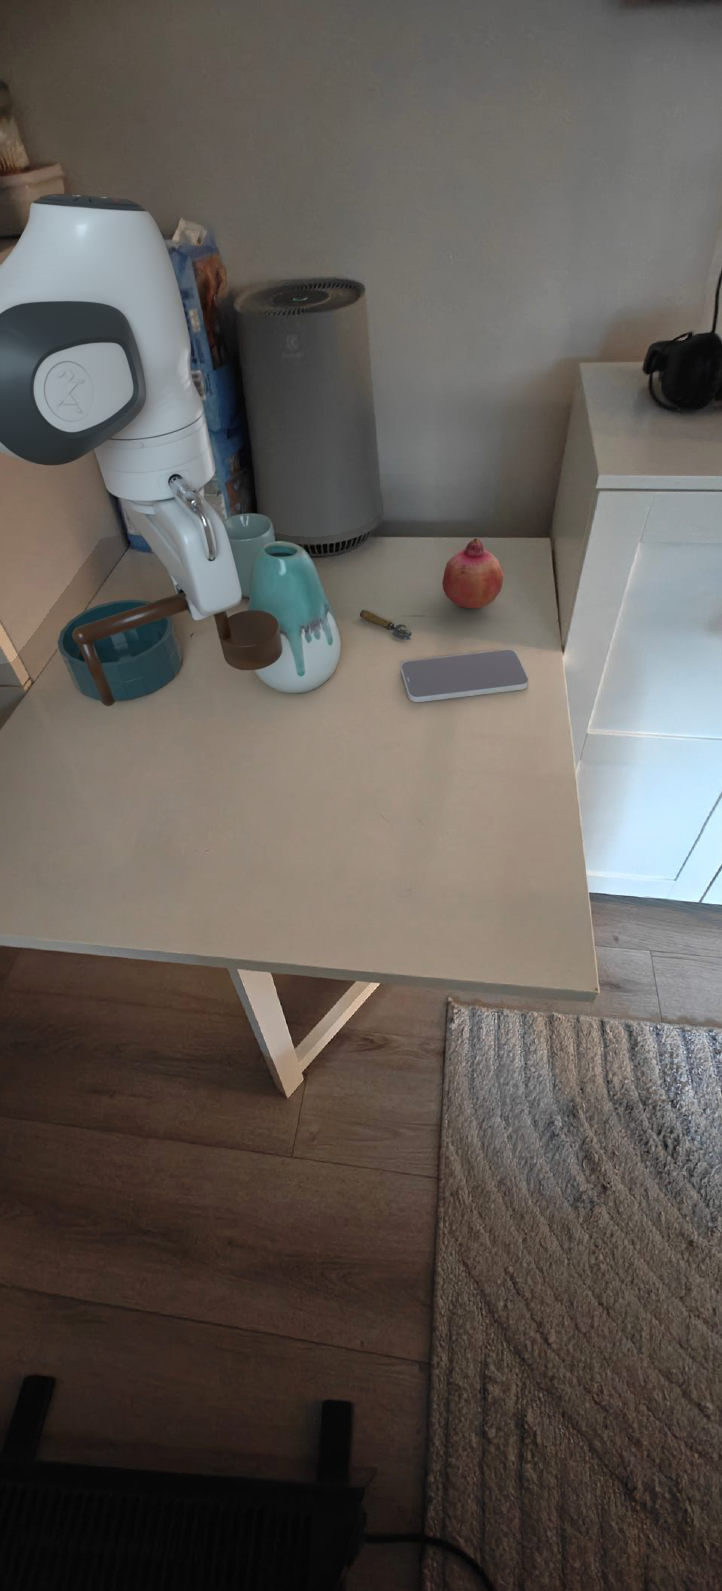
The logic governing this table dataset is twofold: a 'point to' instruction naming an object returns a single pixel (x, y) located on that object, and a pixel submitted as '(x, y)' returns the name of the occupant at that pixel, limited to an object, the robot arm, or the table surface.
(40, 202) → the robot arm
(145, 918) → the table surface
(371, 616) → the can opener
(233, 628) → the ladle
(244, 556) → the cup
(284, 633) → the vase
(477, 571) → the fruit
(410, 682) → the smartphone
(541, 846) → the table surface
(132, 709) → the table surface
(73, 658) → the bowl
